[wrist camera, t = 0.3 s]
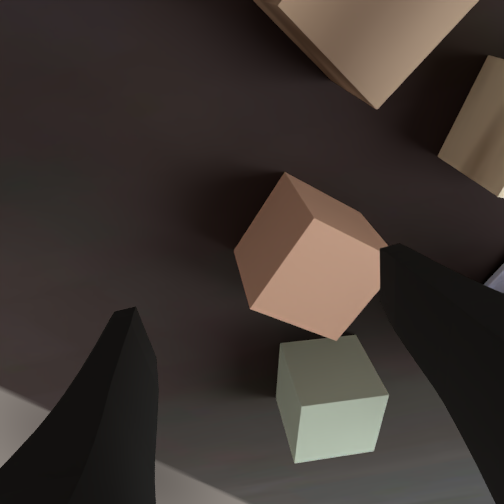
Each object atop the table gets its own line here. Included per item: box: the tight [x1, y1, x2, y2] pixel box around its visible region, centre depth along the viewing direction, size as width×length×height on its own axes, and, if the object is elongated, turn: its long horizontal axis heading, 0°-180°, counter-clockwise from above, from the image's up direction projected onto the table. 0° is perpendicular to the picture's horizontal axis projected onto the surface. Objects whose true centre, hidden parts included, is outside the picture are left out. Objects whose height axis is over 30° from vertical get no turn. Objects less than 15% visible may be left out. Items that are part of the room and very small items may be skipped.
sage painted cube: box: [276, 335, 389, 463], centre depth 28 cm, size 5×5×5 cm
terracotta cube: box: [234, 172, 388, 341], centre depth 22 cm, size 5×5×5 cm
